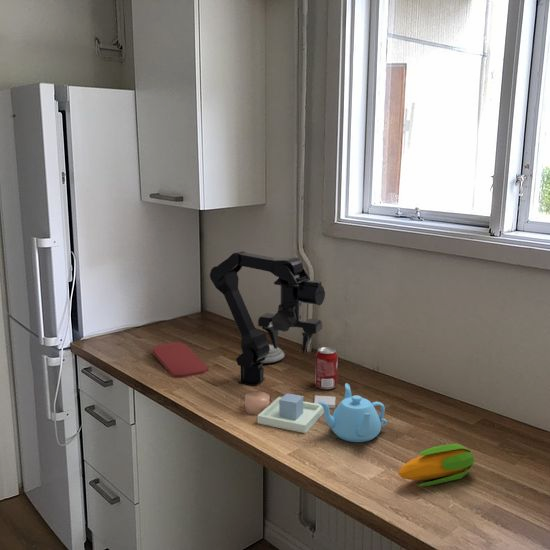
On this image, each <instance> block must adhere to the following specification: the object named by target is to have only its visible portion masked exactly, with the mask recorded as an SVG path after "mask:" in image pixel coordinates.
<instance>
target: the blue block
mask: <svg viewBox="0 0 550 550" xmlns="http://www.w3.org/2000/svg"><path fill="white" fill-rule="evenodd" d="M281 397H282V398H281V399H280V400H279V417H283V418H288V419H292V420H297V419H298V418H299V417H300V416H301V415H302V414H303V401H304V396H303V395H298V394H293V393H285V394H284V395H283V396H281Z"/></svg>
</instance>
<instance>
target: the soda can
mask: <svg viewBox="0 0 550 550" xmlns="http://www.w3.org/2000/svg"><path fill="white" fill-rule="evenodd" d="M338 360H339V356H338V353H337V350H336V348H334V347H330V346H329V347H328V346H322V347H319V348H318V349H317V353H316V354H315V374H314V375H315V377H314V378H315V379H314V381H315V386H316V387H317V388H319V389H320V390H325V391H326V390H327V391H328V390H329V391H330V390H333V389H335V388H337V386H338V366H339V365H338V362H339V361H338Z"/></svg>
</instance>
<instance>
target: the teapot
mask: <svg viewBox="0 0 550 550" xmlns="http://www.w3.org/2000/svg"><path fill="white" fill-rule="evenodd" d="M344 388H345V389H344V398H343V399H342V400H341V401H340V402H339V404H338V405H337V407H335V408H334V412H333V413H332V414H331V411H330V408H329V407H328V405H327V404H326V403H325V402H318V403H319V404H320V405H322V407H323V409H324V413H323V416H324V420H325V423H326V424H327V425H328V426H329V427H330V428H331V430H332V432H333V433H334V434H335V435H336V436H337V437H338V438H339V439H341V440H343V441H345V442H346V441H347V442H350V443H351V442H352V443H365V442H369V441H371V440H373V439H375V438H376V437H378V435H379V434H380V432H381V430H382V428H383V427H385V426H386V425H387V419H386V418H383V417H384V416H385V413H386V408H385V405H384V404H383V402H380V401H373V402H371V401H370V400H368V399H366V398H364V397H362V396H360V395H352V391H351V386H350V384H349V383H347V382H346V383H345V384H344ZM376 406H380V413H378V411H377V410H376V408H375V407H376Z"/></svg>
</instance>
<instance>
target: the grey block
mask: <svg viewBox="0 0 550 550" xmlns="http://www.w3.org/2000/svg"><path fill="white" fill-rule="evenodd" d="M336 398H337V397H336V396H333V395H332V396H329V395H314V402H313V403H315V404H319V403H318V402H325V403H326V404H327V405H328V407H329V409H336V400H337V399H336Z"/></svg>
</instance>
